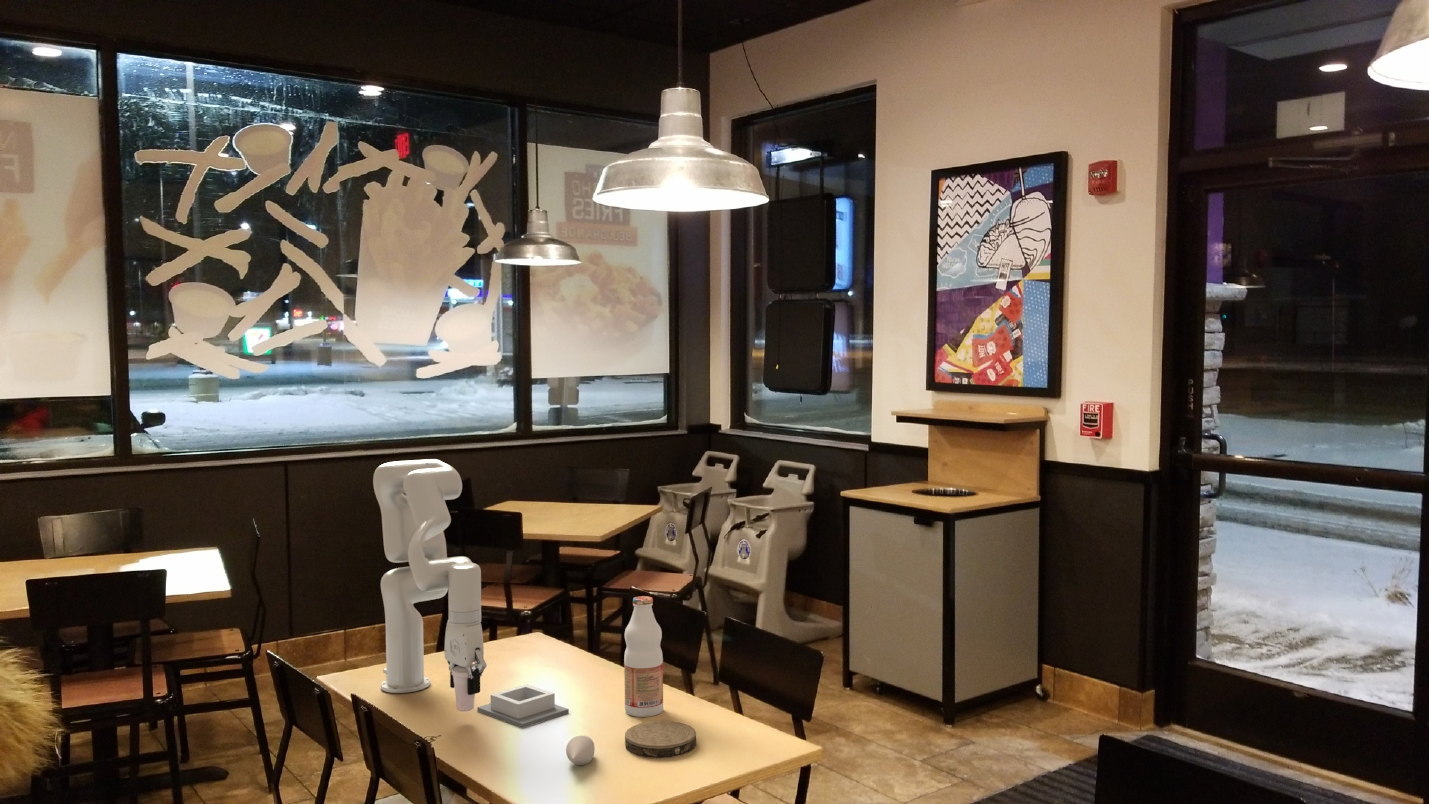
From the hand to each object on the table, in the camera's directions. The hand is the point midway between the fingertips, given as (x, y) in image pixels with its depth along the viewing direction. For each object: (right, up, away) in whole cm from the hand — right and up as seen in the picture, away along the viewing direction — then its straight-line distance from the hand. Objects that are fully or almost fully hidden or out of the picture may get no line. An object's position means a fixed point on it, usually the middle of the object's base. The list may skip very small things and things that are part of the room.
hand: (465, 689), depth 255 cm
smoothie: (0, -5, 0) cm, 5 cm away
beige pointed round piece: (+31, -9, -27) cm, 42 cm away
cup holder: (+12, -8, +8) cm, 17 cm away
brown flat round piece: (+47, -9, -15) cm, 50 cm away
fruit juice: (+42, -8, +8) cm, 43 cm away
